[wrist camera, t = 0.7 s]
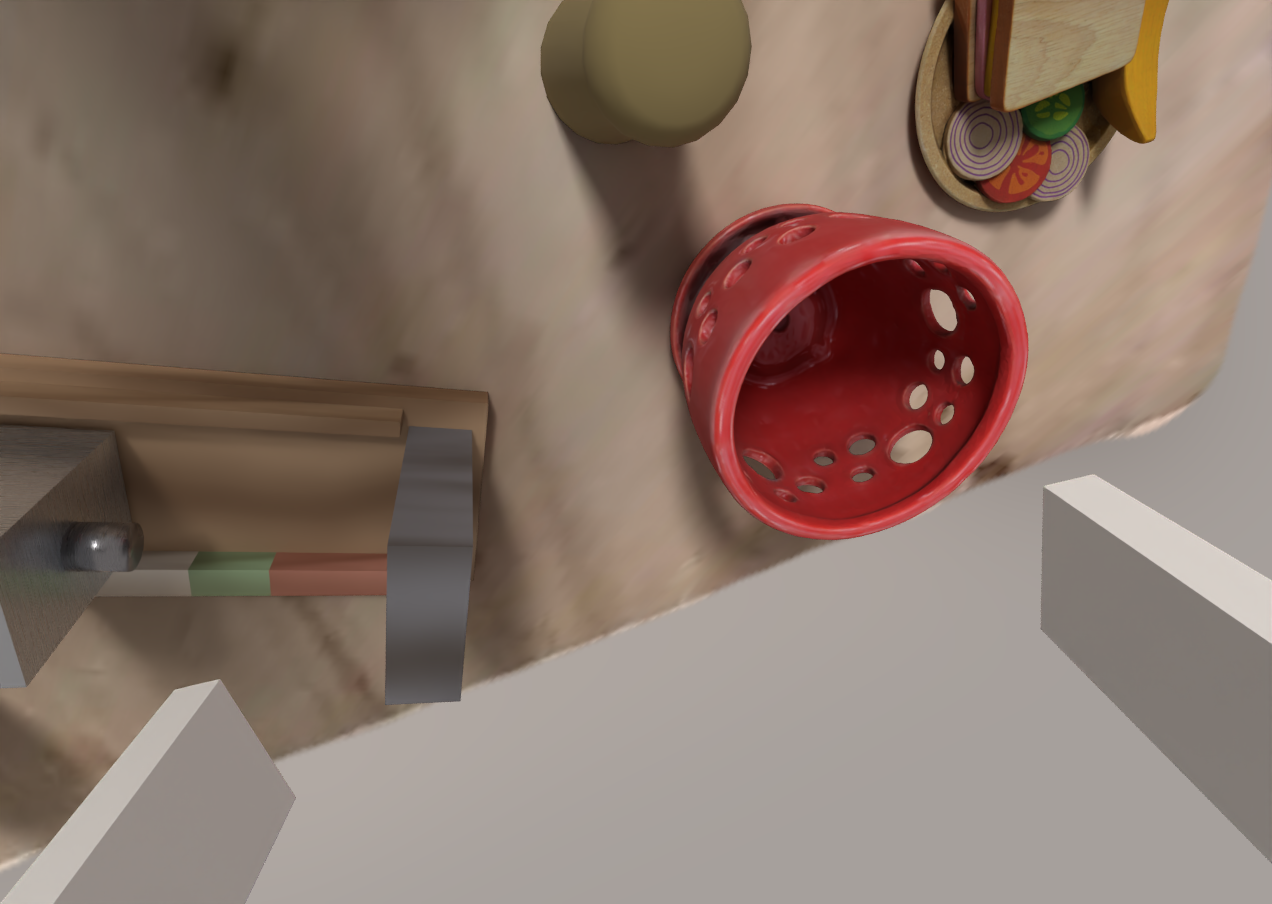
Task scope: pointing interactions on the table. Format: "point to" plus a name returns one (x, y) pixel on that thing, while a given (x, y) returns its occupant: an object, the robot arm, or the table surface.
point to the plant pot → (842, 364)
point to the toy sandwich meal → (1033, 94)
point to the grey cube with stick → (56, 537)
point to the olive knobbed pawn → (645, 67)
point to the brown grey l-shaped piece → (288, 491)
